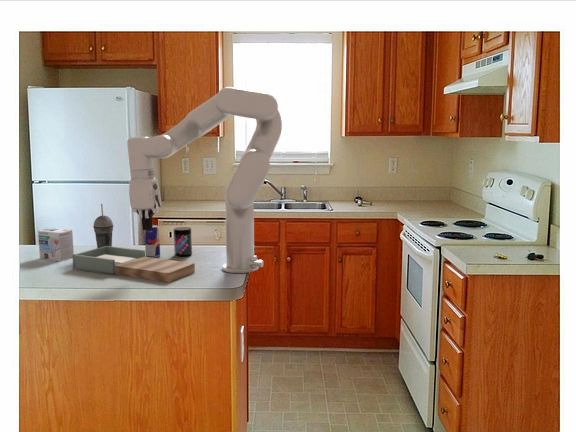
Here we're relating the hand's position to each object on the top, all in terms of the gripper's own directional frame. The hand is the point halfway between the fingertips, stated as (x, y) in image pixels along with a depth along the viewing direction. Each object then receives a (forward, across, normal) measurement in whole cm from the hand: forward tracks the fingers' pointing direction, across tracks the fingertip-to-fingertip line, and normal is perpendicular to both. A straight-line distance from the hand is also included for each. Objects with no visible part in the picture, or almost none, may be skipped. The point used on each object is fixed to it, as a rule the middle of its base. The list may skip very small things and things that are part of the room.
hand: (147, 229), depth 176 cm
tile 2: (+13, +12, +1) cm, 18 cm away
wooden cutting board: (+15, -2, +1) cm, 15 cm away
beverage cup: (+14, +31, -10) cm, 35 cm away
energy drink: (+15, +13, -16) cm, 25 cm away
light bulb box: (+13, +45, 0) cm, 46 cm away
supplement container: (+15, +5, -24) cm, 29 cm away
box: (+14, +18, +1) cm, 22 cm away
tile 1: (+13, +19, +1) cm, 23 cm away
